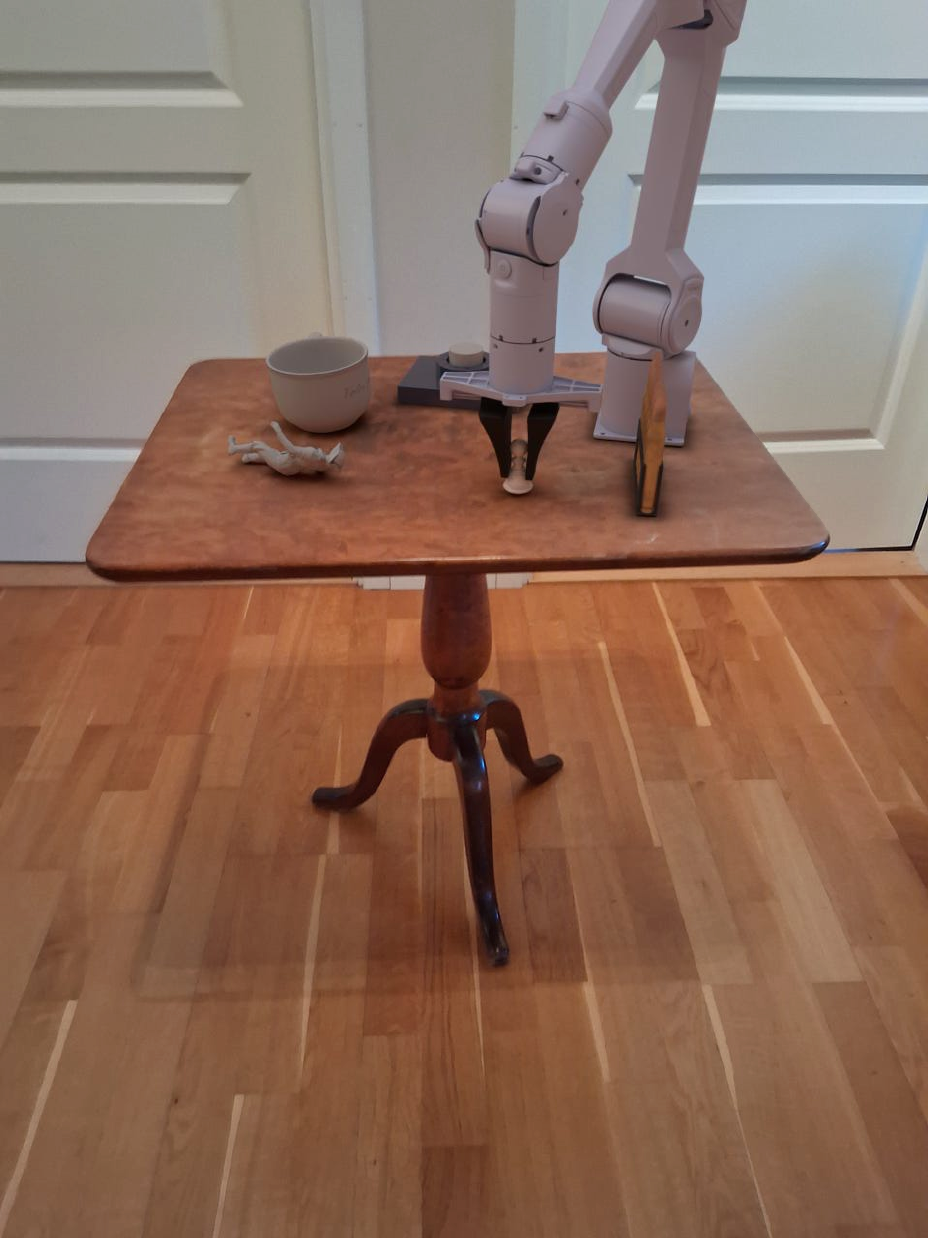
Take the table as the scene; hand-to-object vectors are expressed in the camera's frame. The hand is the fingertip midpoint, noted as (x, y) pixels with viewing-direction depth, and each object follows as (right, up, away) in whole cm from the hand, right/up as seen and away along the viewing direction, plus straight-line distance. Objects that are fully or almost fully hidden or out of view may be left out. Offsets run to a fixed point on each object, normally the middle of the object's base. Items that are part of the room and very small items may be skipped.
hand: (517, 474), depth 85 cm
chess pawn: (0, -1, +1) cm, 2 cm away
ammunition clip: (+12, -1, +1) cm, 13 cm away
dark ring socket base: (-5, +13, +21) cm, 25 cm away
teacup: (-21, +9, +16) cm, 27 cm away
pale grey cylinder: (-5, +16, +19) cm, 25 cm away
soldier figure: (-23, +1, +4) cm, 23 cm away
